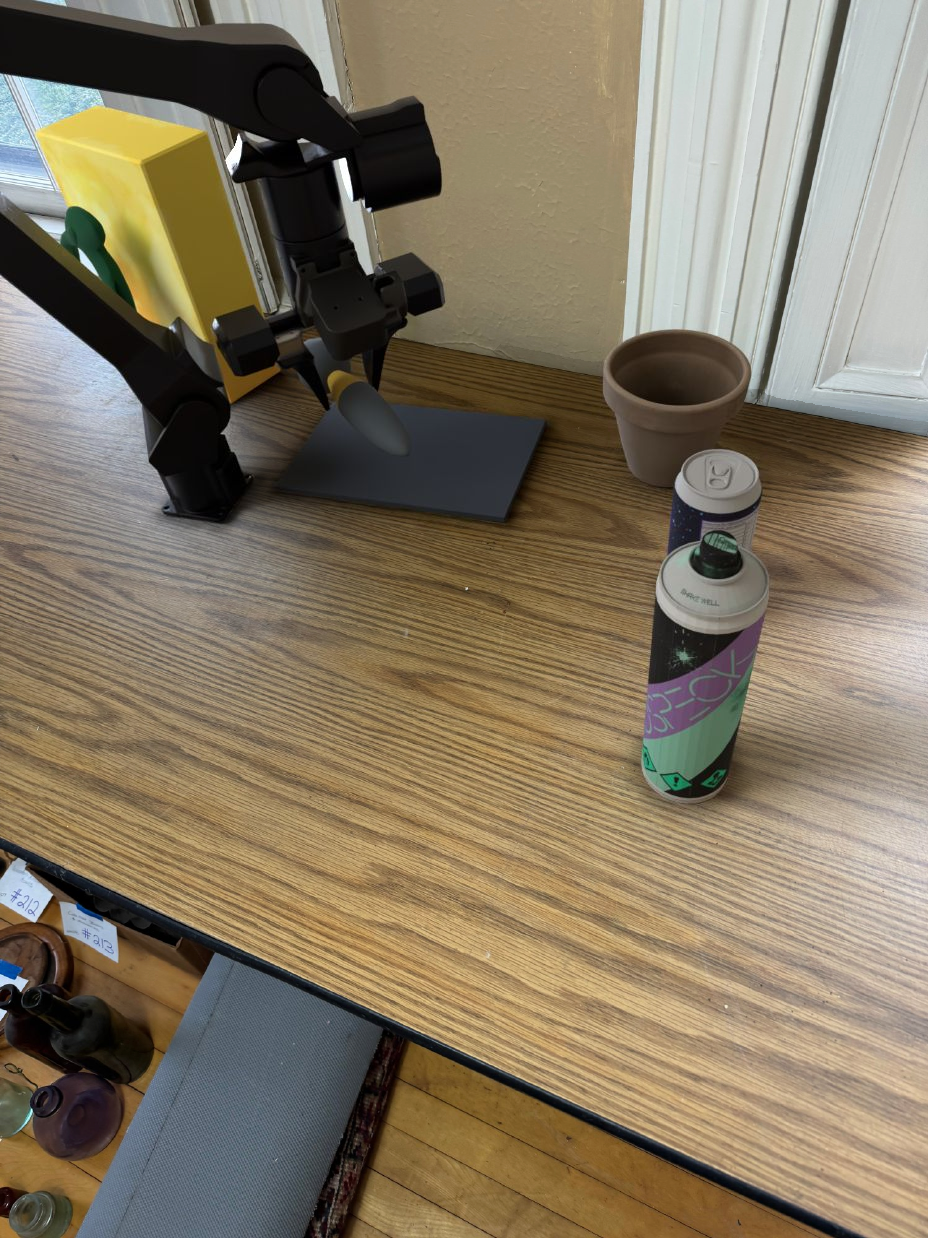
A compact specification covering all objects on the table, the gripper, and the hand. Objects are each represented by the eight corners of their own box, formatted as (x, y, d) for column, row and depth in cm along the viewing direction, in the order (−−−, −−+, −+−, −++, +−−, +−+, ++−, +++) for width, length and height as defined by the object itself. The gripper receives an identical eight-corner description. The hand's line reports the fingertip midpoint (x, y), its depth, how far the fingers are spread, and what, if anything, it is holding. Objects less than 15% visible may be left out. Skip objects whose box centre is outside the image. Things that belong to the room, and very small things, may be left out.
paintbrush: (445, 445, 73) (437, 395, 69) (398, 472, 71) (387, 422, 68) (326, 360, 85) (314, 313, 81) (283, 381, 83) (268, 334, 79)
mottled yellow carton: (97, 380, 95) (-17, 151, 77) (185, 328, 101) (97, 103, 83) (192, 430, 87) (88, 185, 69) (282, 371, 92) (208, 130, 74)
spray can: (632, 736, 57) (648, 511, 42) (714, 725, 57) (759, 495, 42) (651, 809, 53) (675, 590, 39) (739, 798, 53) (797, 574, 38)
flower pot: (760, 453, 75) (779, 350, 67) (691, 527, 70) (704, 424, 62) (647, 411, 80) (653, 312, 73) (576, 477, 75) (574, 378, 68)
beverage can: (745, 576, 65) (770, 450, 56) (735, 631, 62) (760, 506, 53) (670, 565, 67) (683, 440, 58) (656, 617, 64) (667, 494, 55)
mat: (276, 491, 79) (274, 486, 78) (337, 402, 87) (335, 397, 87) (504, 523, 72) (504, 517, 72) (546, 424, 81) (546, 419, 80)
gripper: (220, 307, 58) (281, 485, 70) (464, 226, 62) (483, 407, 74) (181, 247, 65) (242, 418, 77) (403, 178, 69) (429, 350, 81)
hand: (350, 399), depth 77 cm, fingers closed on paintbrush, 4 cm apart
